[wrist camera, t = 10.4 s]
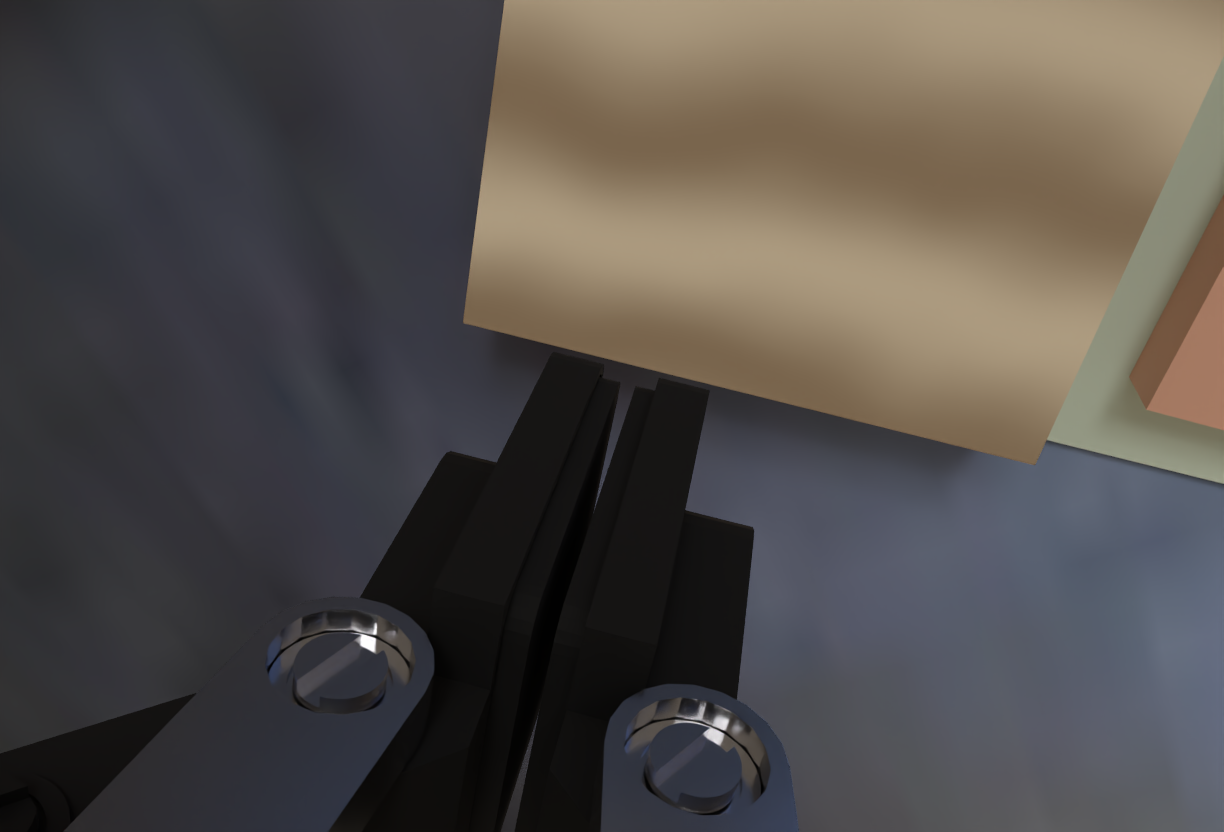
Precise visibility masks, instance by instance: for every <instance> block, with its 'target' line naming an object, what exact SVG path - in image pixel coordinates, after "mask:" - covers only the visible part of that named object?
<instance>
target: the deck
mask: <svg viewBox="0 0 1224 832" xmlns="http://www.w3.org/2000/svg"><path fill="white" fill-rule="evenodd" d="M1223 57H1224V0H505V1H504V9H503V16H502V24H501V32H500V40H499V47H498V55H497V63H496V71H495V79H494V86H493V94H492V102H491V110H490V117H489V125H488V133H487V141H486V148H485V156H484V164H483V172H482V179H481V187H480V195H479V203H478V210H477V218H476V226H475V234H474V241H473V249H472V257H471V265H470V272H469V280H468V288H467V296H466V303H465V311H464V319H463V323H465V324H469V325H473V326H477V327H481V328H485V329H489V330H493V331H497V332H502V333H506V334H510V335H514V336H518V337H522V338H526V339H530V340H534V341H538V342H542V343H546V344H550V345H554V346H558V347H562V348H566V349H570V350H574V351H578V352H582V353H586V354H590V355H594V356H598V357H602V358H606V359H610V360H614V361H618V362H622V363H626V364H630V365H634V366H638V367H642V368H646V369H650V370H654V371H658V372H662V373H666V374H670V375H674V376H678V377H682V378H686V379H690V380H694V381H698V382H702V383H706V384H710V385H715V386H719V387H723V388H727V389H731V390H735V391H739V392H743V393H747V394H751V395H755V396H759V397H763V398H767V399H771V400H775V401H779V402H783V403H787V404H791V405H795V406H799V407H803V408H807V409H811V410H815V411H819V412H823V413H827V414H831V415H835V416H839V417H843V418H847V419H851V420H855V421H859V422H863V423H867V424H871V425H875V426H879V427H883V428H887V429H891V430H895V431H899V432H903V433H907V434H911V435H915V436H919V437H923V438H928V439H932V440H936V441H940V442H944V443H948V444H952V445H956V446H960V447H964V448H968V449H972V450H976V451H980V452H984V453H988V454H992V455H996V456H1000V457H1004V458H1008V459H1012V460H1016V461H1020V462H1024V463H1028V464H1032V465H1035V464H1036V462H1037V460H1038V457H1039V455H1040V453H1041V451H1042V449H1043V447H1044V444H1045V442H1046V440H1047V438H1048V436H1049V434H1050V431H1051V429H1052V427H1053V425H1054V423H1055V421H1056V418H1057V416H1058V414H1059V412H1060V410H1061V408H1062V406H1063V403H1064V401H1065V399H1066V397H1067V395H1068V393H1069V390H1070V388H1071V386H1072V384H1073V382H1074V380H1075V377H1076V375H1077V373H1078V371H1079V369H1080V367H1081V364H1082V362H1083V360H1084V358H1085V356H1086V354H1087V351H1088V349H1089V347H1090V345H1091V343H1092V341H1093V338H1094V336H1095V334H1096V332H1097V330H1098V328H1099V325H1100V323H1101V321H1102V319H1103V317H1104V315H1105V312H1106V310H1107V308H1108V306H1109V304H1110V302H1111V299H1112V297H1113V295H1114V293H1115V291H1116V289H1117V286H1118V284H1119V282H1120V280H1121V278H1122V276H1123V273H1124V271H1125V269H1126V267H1127V265H1128V263H1129V260H1130V258H1131V256H1132V254H1133V252H1134V250H1135V247H1136V245H1137V243H1138V241H1139V239H1140V237H1141V234H1142V232H1143V230H1144V228H1145V226H1146V224H1147V221H1148V219H1149V217H1150V215H1151V213H1152V211H1153V208H1154V206H1155V204H1156V202H1157V200H1158V198H1159V195H1160V193H1161V191H1162V189H1163V187H1164V185H1165V182H1166V180H1167V178H1168V176H1169V174H1170V172H1171V169H1172V167H1173V165H1174V163H1175V161H1176V159H1177V156H1178V154H1179V152H1180V150H1181V148H1182V146H1183V143H1184V141H1185V139H1186V137H1187V135H1188V133H1189V130H1190V128H1191V126H1192V124H1193V122H1194V120H1195V117H1196V115H1197V113H1198V111H1199V109H1200V107H1201V104H1202V102H1203V100H1204V98H1205V96H1206V94H1207V91H1208V89H1209V87H1210V85H1211V83H1212V81H1213V78H1214V76H1215V74H1216V72H1217V70H1218V68H1219V65H1220V63H1221V61H1222V59H1223Z"/></svg>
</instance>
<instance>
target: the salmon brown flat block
mask: <svg viewBox="0 0 1224 832" xmlns="http://www.w3.org/2000/svg"><path fill="white" fill-rule="evenodd" d="M1129 378H1130V380H1131V382H1132V384H1133V385H1134V387H1135V389H1136V391H1137V393H1138V395H1139V397H1140V399H1141V401H1142V402H1143V404H1144V406H1145V408H1146V410H1149V411H1153V412H1157V413H1161V414H1164V415H1168V416H1172V417H1176V418H1179V419H1183V420H1187V421H1191V422H1194V423H1198V424H1202V425H1206V426H1209V427H1213V428H1217V429H1221V430H1224V195H1223V197H1222V199H1221V201H1220V203H1219V205H1218V206H1217V208H1216V210H1215V212H1214V214H1213V216H1212V218H1211V220H1210V222H1209V224H1208V226H1207V228H1206V230H1205V231H1204V233H1203V235H1202V237H1201V239H1200V241H1199V243H1198V245H1197V247H1196V249H1195V251H1194V253H1193V255H1192V257H1191V258H1190V260H1189V262H1188V264H1187V266H1186V268H1185V270H1184V272H1183V274H1182V276H1181V278H1180V280H1179V282H1178V283H1177V285H1176V287H1175V289H1174V291H1173V293H1172V295H1171V297H1170V299H1169V301H1168V303H1167V305H1166V307H1165V309H1164V310H1163V312H1162V314H1161V316H1160V318H1159V320H1158V322H1157V324H1156V326H1155V328H1154V330H1153V332H1152V334H1151V335H1150V337H1149V339H1148V341H1147V343H1146V345H1145V347H1144V349H1143V351H1142V353H1141V355H1140V357H1139V359H1138V361H1137V362H1136V364H1135V366H1134V368H1133V370H1132V372H1131V374H1130V376H1129Z"/></svg>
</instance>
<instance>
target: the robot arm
mask: <svg viewBox="0 0 1224 832" xmlns="http://www.w3.org/2000/svg"><path fill="white" fill-rule="evenodd" d="M603 370H604V364H600V363H596V362H592V361H588V360H584V359H580V358H576V357H572V356H567V355H563V354H559V353H555V352H553V353H552V354H551V356H550V358H549V360H548V362H547V364H546V366H545V368H544V370H543V372H542V374H541V376H540V378H539V380H538V382H537V384H536V386H535V388H534V390H533V392H532V394H531V396H530V398H529V400H528V402H527V404H526V406H525V408H524V410H523V412H522V413H521V415H520V417H519V419H518V421H517V423H516V425H515V427H514V429H513V431H512V433H511V435H510V437H509V439H508V441H507V443H506V445H505V447H504V449H503V451H502V453H501V455H500V457H499V459H498V461H497V463H496V462H492V461H488V460H484V459H480V458H476V457H472V456H468V455H464V454H460V453H456V452H452V451H450V452H447V453H446V454H445V456H444V457H443V458H442V460H441V461H440V463H439V464H438V466H437V468H436V469H435V471H434V473H433V474H432V476H431V478H430V480H429V481H428V483H427V485H426V486H425V488H424V490H423V491H422V493H421V495H420V497H419V498H418V500H417V502H416V503H415V505H414V507H413V508H412V510H411V512H410V513H409V515H408V517H407V519H406V520H405V522H404V524H403V525H402V527H401V529H400V530H399V532H398V534H397V535H396V537H395V539H394V541H393V542H392V544H391V546H390V547H389V549H388V551H387V552H386V554H385V556H384V557H383V559H382V561H381V563H380V564H379V566H378V568H377V569H376V571H375V573H374V574H373V576H372V578H371V580H370V581H369V583H368V585H367V586H366V588H365V590H364V591H363V593H362V595H361V596H360V598H354V597H329V598H323V599H317V600H311V601H305V602H303V603H301V604H298V605H296V606H293V607H291V608H288V609H286V610H284V611H281V612H280V613H278V614H277V615H276V616H274V617H273V618H272V619H271V620H269V621H268V622H267V623H265V624H264V625H263V626H261V627H260V628H259V629H258V630H257V631H256V632H255V633H254V634H253V636H252V637H251V638H250V639H249V640H248V641H247V642H246V643H245V644H244V645H243V646H242V647H241V648H240V649H239V650H238V651H237V652H236V653H235V654H234V655H233V656H232V657H231V658H230V659H229V660H228V661H227V662H226V663H225V665H224V666H223V667H222V668H221V669H220V670H219V671H218V672H217V673H216V674H215V675H214V676H213V677H212V678H211V679H210V680H209V681H208V682H207V683H206V684H205V685H204V686H203V687H202V688H201V689H200V690H199V691H198V693H195V694H192V695H188V696H185V697H182V698H179V699H175V700H172V701H169V702H166V703H162V704H159V705H156V706H153V707H150V708H146V709H143V710H140V711H137V712H133V713H130V714H127V715H124V716H120V717H117V718H114V719H111V720H107V721H104V722H101V723H98V724H95V725H91V726H88V727H85V728H82V729H78V730H75V731H72V732H69V733H65V734H62V735H59V736H56V737H52V738H49V739H46V740H43V741H40V742H36V743H33V744H30V745H27V746H23V747H20V748H17V749H14V750H10V751H7V752H4V753H1V754H0V832H500V831H501V828H502V825H503V822H504V819H505V816H506V813H507V809H508V806H509V803H510V800H511V797H512V794H513V791H514V788H515V785H516V781H517V778H518V775H519V772H520V769H521V766H522V763H523V760H524V756H525V753H526V750H527V747H528V744H529V741H530V738H531V735H532V731H533V728H534V725H535V722H536V719H537V716H538V720H537V725H536V730H535V735H534V740H533V745H532V749H531V754H530V759H529V764H528V769H527V774H526V779H525V784H524V789H523V794H522V798H521V803H520V808H519V813H518V818H517V823H516V828H515V832H799V828H798V821H797V814H796V807H795V800H794V793H793V786H792V779H791V772H790V766H789V763H788V760H787V757H786V754H785V751H784V748H783V745H782V743H781V742H780V740H779V739H778V737H777V736H776V735H775V733H774V732H773V730H772V729H771V728H770V726H769V725H768V723H767V722H766V721H765V720H763V719H762V718H761V717H760V716H759V715H757V714H756V713H755V712H754V711H753V710H751V709H750V708H749V707H748V706H747V705H745V704H743V703H741V702H740V701H738V700H737V692H738V683H739V673H740V664H741V654H742V645H743V635H744V626H745V616H746V607H747V597H748V587H749V578H750V568H751V559H752V549H753V540H754V529H753V527H750V526H746V525H742V524H738V523H734V522H730V521H726V520H722V519H718V518H714V517H710V516H706V515H702V514H698V513H694V512H690V511H686V510H685V508H686V503H687V498H688V493H689V488H690V483H691V479H692V474H693V469H694V464H695V459H696V454H697V449H698V445H699V440H700V435H701V430H702V425H703V420H704V415H705V410H706V406H707V401H708V396H709V390H706V389H702V388H698V387H694V386H690V385H686V384H682V383H678V382H674V381H669V380H665V379H661V378H659V380H658V383H657V387H656V390H655V391H653V390H649V389H645V388H641V387H637V386H636V388H635V390H634V393H633V396H632V399H631V402H630V405H629V408H628V411H627V414H626V417H625V420H624V423H623V426H622V429H621V432H620V435H619V438H618V441H617V444H616V447H615V450H614V453H613V456H612V459H611V462H610V465H609V468H608V471H607V474H606V477H605V480H604V483H603V486H602V489H601V492H600V495H599V498H598V501H597V504H596V507H595V503H596V498H597V493H598V488H599V484H600V479H601V474H602V470H603V465H604V460H605V455H606V451H607V446H608V441H609V437H610V432H611V427H612V422H613V418H614V413H615V408H616V404H617V399H618V394H619V388H620V382H616V381H612V380H608V379H604V378H602V377H603ZM594 507H595V511H594ZM593 512H594V514H593ZM538 713H539V715H538Z"/></svg>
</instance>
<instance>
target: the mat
mask: <svg viewBox="0 0 1224 832" xmlns="http://www.w3.org/2000/svg"><path fill="white" fill-rule="evenodd" d="M1223 195H1224V57H1223V59H1222V61H1221V63H1220V65H1219V68H1218V70H1217V72H1216V74H1215V76H1214V78H1213V81H1212V83H1211V85H1210V87H1209V89H1208V91H1207V94H1206V96H1205V98H1204V100H1203V102H1202V104H1201V107H1200V109H1199V111H1198V113H1197V115H1196V117H1195V120H1194V122H1193V124H1192V126H1191V128H1190V130H1189V133H1188V135H1187V137H1186V139H1185V141H1184V143H1183V146H1182V148H1181V150H1180V152H1179V154H1178V156H1177V159H1176V161H1175V163H1174V165H1173V167H1172V169H1171V172H1170V174H1169V176H1168V178H1167V180H1166V182H1165V185H1164V187H1163V189H1162V191H1161V193H1160V195H1159V198H1158V200H1157V202H1156V204H1155V206H1154V208H1153V211H1152V213H1151V215H1150V217H1149V219H1148V221H1147V224H1146V226H1145V228H1144V230H1143V232H1142V234H1141V237H1140V239H1139V241H1138V243H1137V245H1136V247H1135V250H1134V252H1133V254H1132V256H1131V258H1130V260H1129V263H1128V265H1127V267H1126V269H1125V271H1124V273H1123V276H1122V278H1121V280H1120V282H1119V284H1118V286H1117V289H1116V291H1115V293H1114V295H1113V297H1112V299H1111V302H1110V304H1109V306H1108V308H1107V310H1106V312H1105V315H1104V317H1103V319H1102V321H1101V323H1100V325H1099V328H1098V330H1097V332H1096V334H1095V336H1094V338H1093V341H1092V343H1091V345H1090V347H1089V349H1088V351H1087V354H1086V356H1085V358H1084V360H1083V362H1082V364H1081V367H1080V369H1079V371H1078V373H1077V375H1076V377H1075V380H1074V382H1073V384H1072V386H1071V388H1070V390H1069V393H1068V395H1067V397H1066V399H1065V401H1064V403H1063V406H1062V408H1061V410H1060V412H1059V414H1058V416H1057V418H1056V421H1055V423H1054V425H1053V427H1052V429H1051V431H1050V434H1049V436H1048V438H1047V440H1049V441H1053V442H1057V443H1061V444H1065V445H1069V446H1073V447H1077V448H1081V449H1085V450H1089V451H1093V452H1097V453H1101V454H1105V455H1109V456H1113V457H1118V458H1122V459H1126V460H1130V461H1134V462H1138V463H1142V464H1146V465H1150V466H1154V467H1158V468H1162V469H1166V470H1170V471H1174V472H1178V473H1182V474H1186V475H1190V476H1194V477H1198V478H1202V479H1206V480H1211V481H1215V482H1219V483H1223V484H1224V430H1221V429H1217V428H1213V427H1209V426H1206V425H1202V424H1198V423H1194V422H1191V421H1187V420H1183V419H1179V418H1176V417H1172V416H1168V415H1164V414H1161V413H1157V412H1153V411H1149V410H1146V408H1145V406H1144V404H1143V402H1142V401H1141V399H1140V397H1139V395H1138V393H1137V391H1136V389H1135V387H1134V385H1133V384H1132V382H1131V380H1130V378H1129V376H1130V374H1131V372H1132V370H1133V368H1134V366H1135V364H1136V362H1137V361H1138V359H1139V357H1140V355H1141V353H1142V351H1143V349H1144V347H1145V345H1146V343H1147V341H1148V339H1149V337H1150V335H1151V334H1152V332H1153V330H1154V328H1155V326H1156V324H1157V322H1158V320H1159V318H1160V316H1161V314H1162V312H1163V310H1164V309H1165V307H1166V305H1167V303H1168V301H1169V299H1170V297H1171V295H1172V293H1173V291H1174V289H1175V287H1176V285H1177V283H1178V282H1179V280H1180V278H1181V276H1182V274H1183V272H1184V270H1185V268H1186V266H1187V264H1188V262H1189V260H1190V258H1191V257H1192V255H1193V253H1194V251H1195V249H1196V247H1197V245H1198V243H1199V241H1200V239H1201V237H1202V235H1203V233H1204V231H1205V230H1206V228H1207V226H1208V224H1209V222H1210V220H1211V218H1212V216H1213V214H1214V212H1215V210H1216V208H1217V206H1218V205H1219V203H1220V201H1221V199H1222V197H1223Z"/></svg>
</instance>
